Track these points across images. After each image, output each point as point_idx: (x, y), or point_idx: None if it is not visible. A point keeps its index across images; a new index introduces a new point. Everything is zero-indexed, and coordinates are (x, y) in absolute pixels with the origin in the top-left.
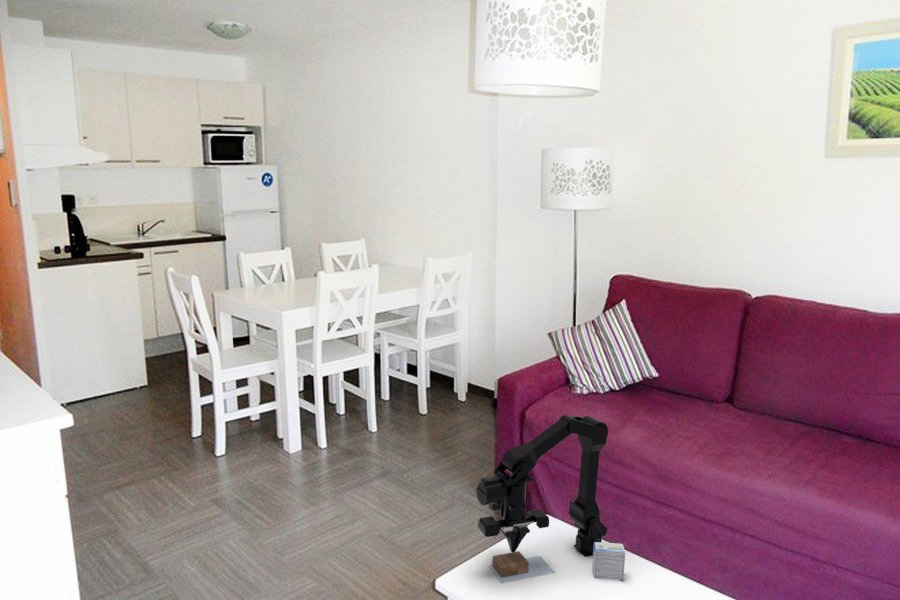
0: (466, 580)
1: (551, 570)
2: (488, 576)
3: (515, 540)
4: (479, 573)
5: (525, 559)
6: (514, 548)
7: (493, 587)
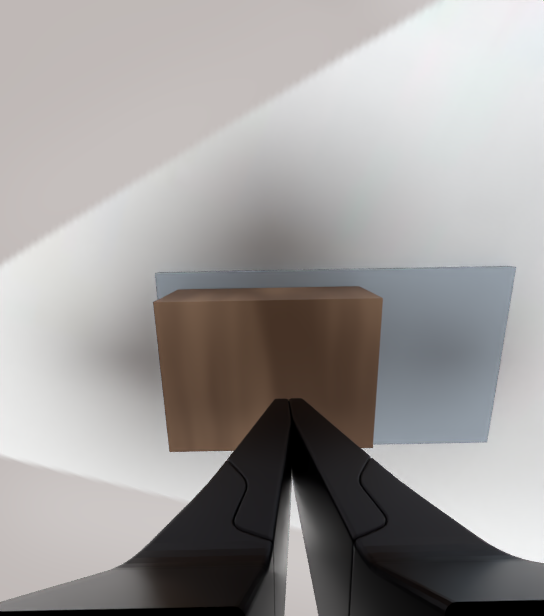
0: (4, 362)
1: (480, 420)
2: (134, 361)
3: (316, 562)
4: (91, 321)
5: (370, 410)
6: (292, 478)
7: (131, 452)
